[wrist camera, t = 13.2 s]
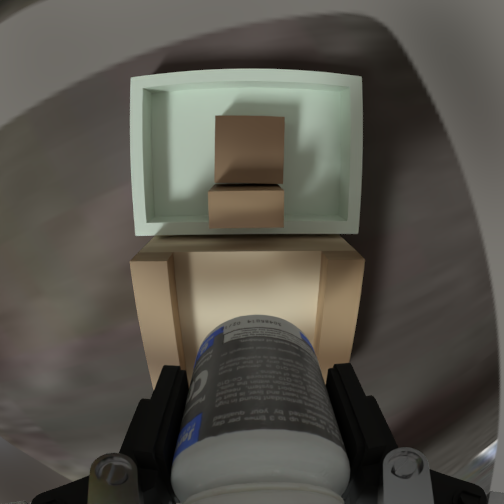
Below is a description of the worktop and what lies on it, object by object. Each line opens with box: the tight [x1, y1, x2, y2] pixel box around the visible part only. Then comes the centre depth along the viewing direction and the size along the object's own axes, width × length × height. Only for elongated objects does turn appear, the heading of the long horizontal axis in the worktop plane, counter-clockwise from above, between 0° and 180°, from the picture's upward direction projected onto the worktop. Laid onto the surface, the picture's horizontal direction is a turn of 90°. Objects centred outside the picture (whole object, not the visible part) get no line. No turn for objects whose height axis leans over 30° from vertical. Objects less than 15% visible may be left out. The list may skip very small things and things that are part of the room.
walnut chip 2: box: [208, 183, 284, 229], centre depth 19 cm, size 4×4×2 cm
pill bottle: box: [171, 315, 350, 504], centre depth 8 cm, size 5×5×8 cm
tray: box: [130, 69, 363, 236], centre depth 19 cm, size 10×14×2 cm
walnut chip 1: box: [214, 115, 285, 184], centre depth 19 cm, size 4×4×2 cm
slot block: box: [130, 234, 365, 389], centre depth 21 cm, size 14×12×6 cm
